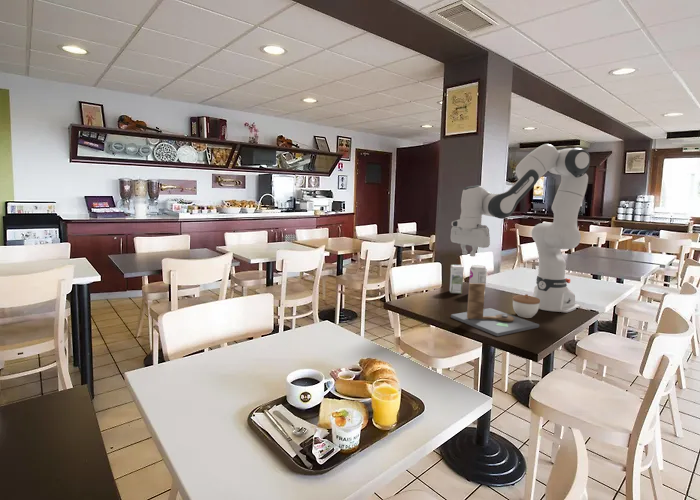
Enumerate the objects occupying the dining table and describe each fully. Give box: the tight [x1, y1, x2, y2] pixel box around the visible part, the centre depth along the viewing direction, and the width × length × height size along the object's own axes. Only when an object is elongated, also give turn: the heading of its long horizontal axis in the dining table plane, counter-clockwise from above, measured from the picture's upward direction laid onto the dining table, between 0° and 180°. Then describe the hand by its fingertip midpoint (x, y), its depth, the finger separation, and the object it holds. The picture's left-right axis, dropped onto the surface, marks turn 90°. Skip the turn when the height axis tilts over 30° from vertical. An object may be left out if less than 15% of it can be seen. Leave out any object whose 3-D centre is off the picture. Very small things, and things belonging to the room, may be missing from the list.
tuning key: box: [466, 282, 514, 322], centre depth 165 cm, size 18×7×14 cm, turn 88°
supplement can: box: [468, 264, 488, 296], centre depth 209 cm, size 8×8×15 cm
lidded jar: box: [512, 293, 540, 319], centre depth 175 cm, size 11×11×9 cm
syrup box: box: [449, 264, 464, 295], centre depth 214 cm, size 6×6×14 cm
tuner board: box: [450, 307, 540, 337], centre depth 166 cm, size 23×25×3 cm
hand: (468, 255), depth 177 cm, fingers open, 3 cm apart
